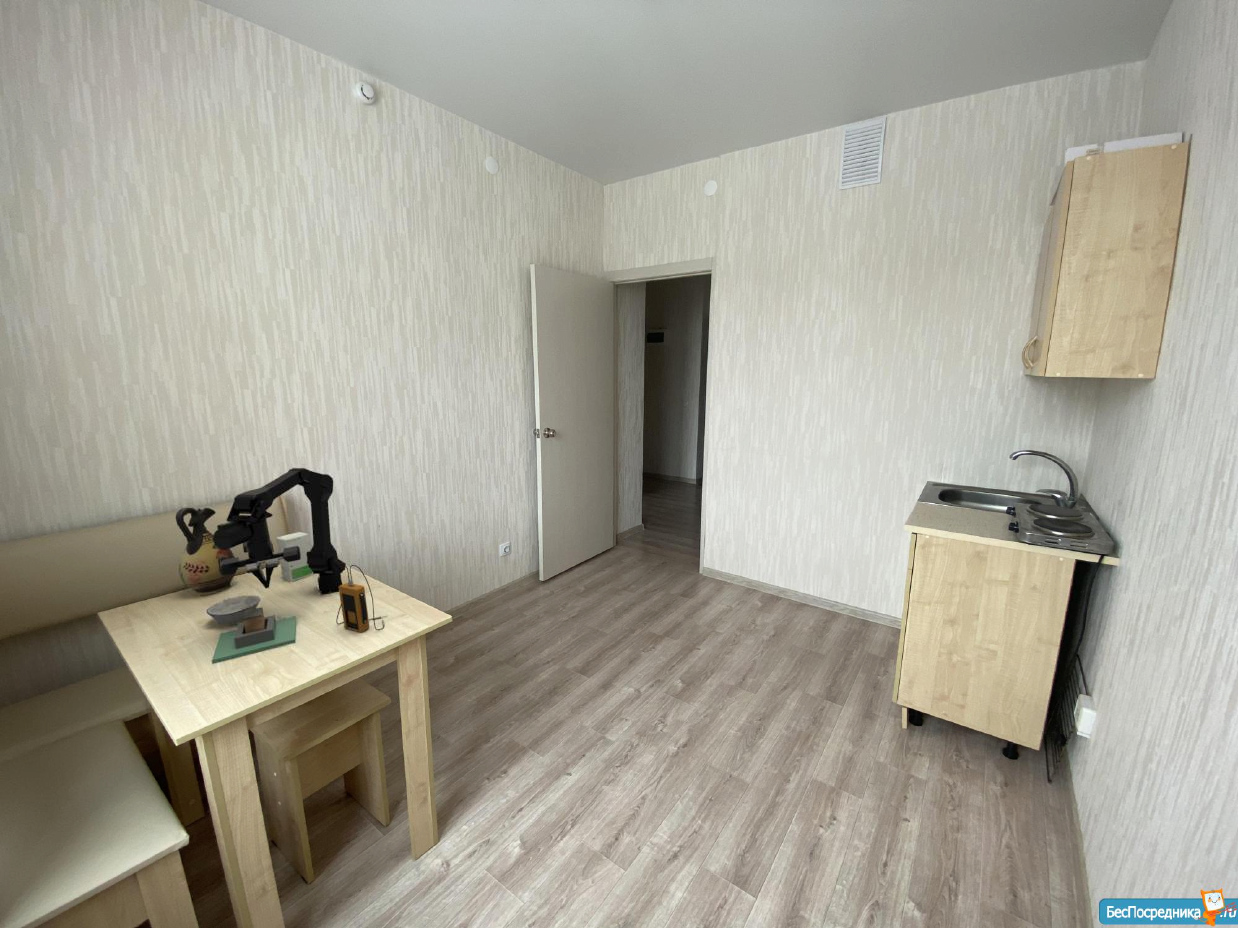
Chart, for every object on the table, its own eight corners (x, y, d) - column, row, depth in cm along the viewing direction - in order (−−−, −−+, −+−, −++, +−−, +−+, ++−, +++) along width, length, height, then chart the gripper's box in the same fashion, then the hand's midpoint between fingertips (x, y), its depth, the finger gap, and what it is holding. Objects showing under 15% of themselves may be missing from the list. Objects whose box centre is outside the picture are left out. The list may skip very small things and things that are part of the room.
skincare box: (290, 582, 180) (283, 540, 177) (281, 579, 183) (274, 537, 180) (315, 574, 187) (308, 533, 184) (305, 570, 190) (299, 530, 187)
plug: (266, 629, 145) (262, 606, 144) (265, 638, 140) (261, 614, 139) (249, 634, 143) (245, 610, 141) (247, 642, 138) (243, 618, 137)
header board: (296, 618, 153) (294, 606, 152) (295, 642, 139) (293, 629, 139) (221, 636, 144) (218, 623, 143) (212, 663, 130) (209, 649, 130)
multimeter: (399, 619, 151) (391, 555, 147) (371, 635, 142) (361, 567, 138) (364, 610, 157) (356, 548, 153) (335, 626, 148) (325, 560, 144)
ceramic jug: (213, 579, 185) (197, 499, 179) (251, 580, 183) (236, 499, 177) (166, 601, 168) (147, 513, 163) (207, 602, 166) (189, 513, 160)
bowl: (198, 627, 150) (194, 611, 149) (239, 607, 162) (236, 592, 161) (232, 631, 147) (229, 615, 146) (272, 610, 159) (269, 596, 158)
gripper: (296, 522, 156) (304, 570, 159) (219, 535, 147) (230, 585, 150) (295, 532, 147) (305, 583, 150) (214, 547, 137) (226, 600, 141)
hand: (267, 587), depth 148 cm, fingers closed
